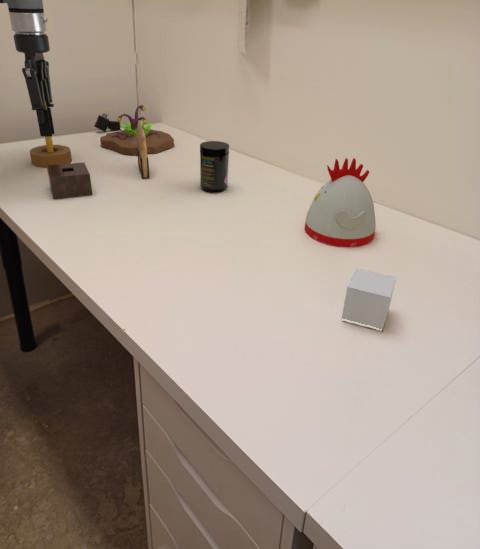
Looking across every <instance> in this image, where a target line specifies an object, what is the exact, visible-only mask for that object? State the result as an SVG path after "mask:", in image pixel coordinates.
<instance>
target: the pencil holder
mask: <svg viewBox="0 0 480 549" xmlns="http://www.w3.org/2000/svg"><path fill="white" fill-rule="evenodd" d="M46 171H47V176H48V177H47V178H48V183H49V187H50V188H49V189H50V192H51V195H52V200H58V199H60V200H61V199H69V198H77V197H85V196H92V195H93V188H92V181H91V173H90V172H89V169H88V167H87V165H86V163H85V162H73V163H68V164H59V165H48V166H47V167H46Z"/></svg>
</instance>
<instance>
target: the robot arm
mask: <svg viewBox="0 0 480 549" xmlns="http://www.w3.org/2000/svg"><path fill="white" fill-rule="evenodd" d="M0 4H7V10H8V16H9V21H10V26H11V27H10V28H11V31H12V32H14V34H13V42H14V47H15V50H16V52H18V53H23V54H24V61H23V62H24V67H22V68H21V72H22V75H23V77H24V79H25V80H24V81H25V85H26V89H27V92H28V97H29V101H30V105H31V111H35V113H36V118H37V123H38V129H39V135H40V137H45V136H51V137H53V135H55V134H56V133H55V127H54V121H53V116H52V108H54V107H55V106H54V103H53V96H52V86H51V79H50V78H51V77H50V63H49V61H46V59H45V56H44V54H45V53H48V52H50V51H51V48H50V41H49V36H48V35H47V34H46V32H47V31H48V30H47V24H46V23H48V18H47V17H45V10H44V2H43V0H0ZM45 101H46V104H45ZM46 107H47V110H46Z"/></svg>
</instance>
